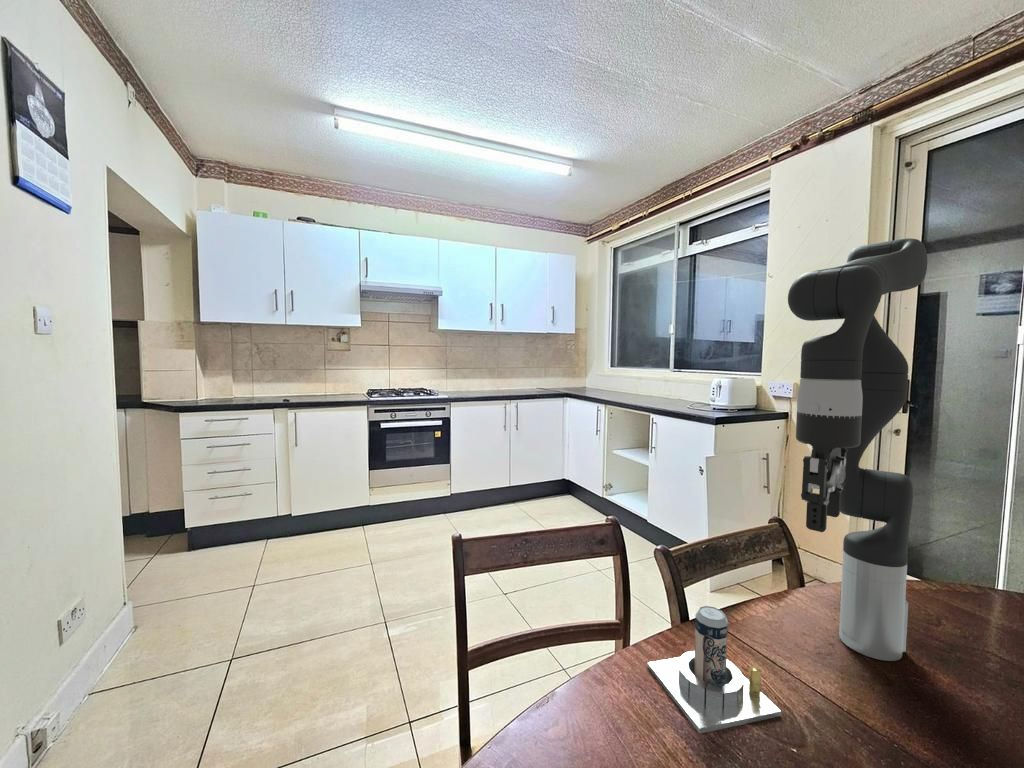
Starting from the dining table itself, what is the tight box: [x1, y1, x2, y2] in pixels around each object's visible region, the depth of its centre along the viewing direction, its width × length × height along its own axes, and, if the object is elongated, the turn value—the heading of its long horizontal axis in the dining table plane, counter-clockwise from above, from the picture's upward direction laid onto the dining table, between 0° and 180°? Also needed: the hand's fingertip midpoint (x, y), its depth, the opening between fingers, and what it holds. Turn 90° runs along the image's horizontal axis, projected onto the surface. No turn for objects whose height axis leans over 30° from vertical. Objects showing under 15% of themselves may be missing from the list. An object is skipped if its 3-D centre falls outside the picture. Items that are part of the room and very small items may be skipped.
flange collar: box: [647, 650, 782, 735], centre depth 71 cm, size 14×14×5 cm
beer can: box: [694, 605, 729, 686], centre depth 71 cm, size 5×5×12 cm
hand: (823, 522), depth 63 cm, fingers open, 8 cm apart
